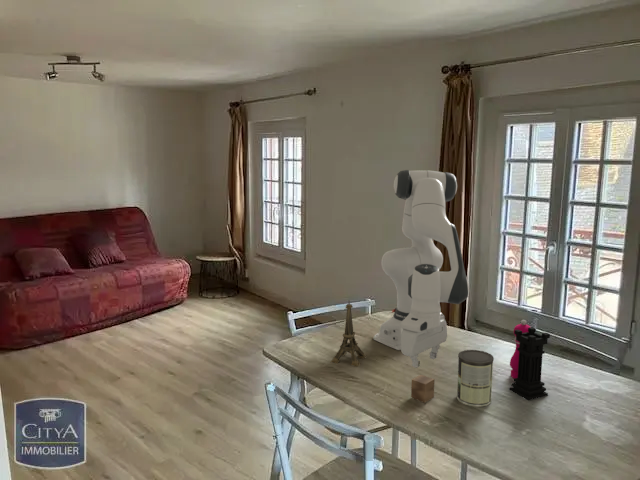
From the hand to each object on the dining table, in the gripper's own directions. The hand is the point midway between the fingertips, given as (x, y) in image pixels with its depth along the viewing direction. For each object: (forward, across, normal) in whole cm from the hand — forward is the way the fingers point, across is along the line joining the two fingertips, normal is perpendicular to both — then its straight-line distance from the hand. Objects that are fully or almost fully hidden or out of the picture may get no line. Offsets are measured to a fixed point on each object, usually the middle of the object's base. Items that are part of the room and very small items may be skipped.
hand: (424, 362), depth 159 cm
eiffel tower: (+11, -8, -38) cm, 40 cm away
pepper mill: (+12, -36, +14) cm, 41 cm away
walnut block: (+12, 0, -1) cm, 12 cm away
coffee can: (+12, -10, +11) cm, 19 cm away
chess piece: (+12, -26, +21) cm, 36 cm away
